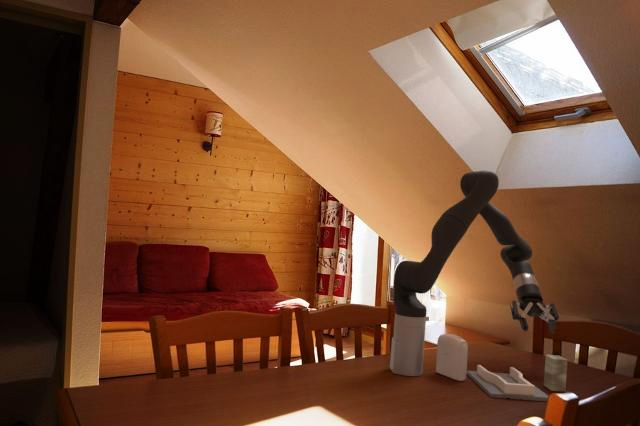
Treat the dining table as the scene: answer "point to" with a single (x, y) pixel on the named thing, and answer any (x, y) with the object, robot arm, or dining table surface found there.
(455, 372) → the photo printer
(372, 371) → the dining table surface
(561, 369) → the sage hanger block
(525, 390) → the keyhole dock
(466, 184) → the robot arm
